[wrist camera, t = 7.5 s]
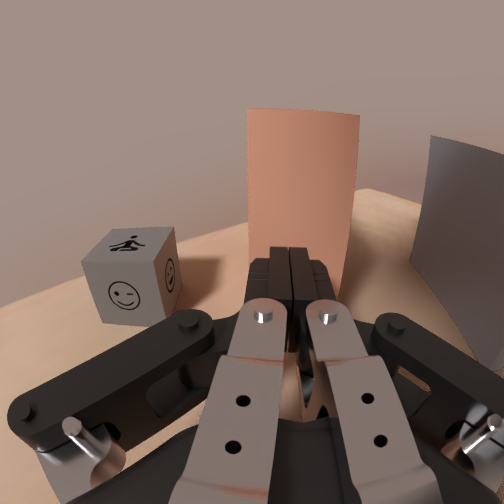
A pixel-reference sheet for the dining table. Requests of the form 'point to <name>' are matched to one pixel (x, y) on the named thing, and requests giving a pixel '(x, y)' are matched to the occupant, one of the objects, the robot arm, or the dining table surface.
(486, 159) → the slate slab
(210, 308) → the dining table surface
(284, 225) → the terracotta slab
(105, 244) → the dice cube
